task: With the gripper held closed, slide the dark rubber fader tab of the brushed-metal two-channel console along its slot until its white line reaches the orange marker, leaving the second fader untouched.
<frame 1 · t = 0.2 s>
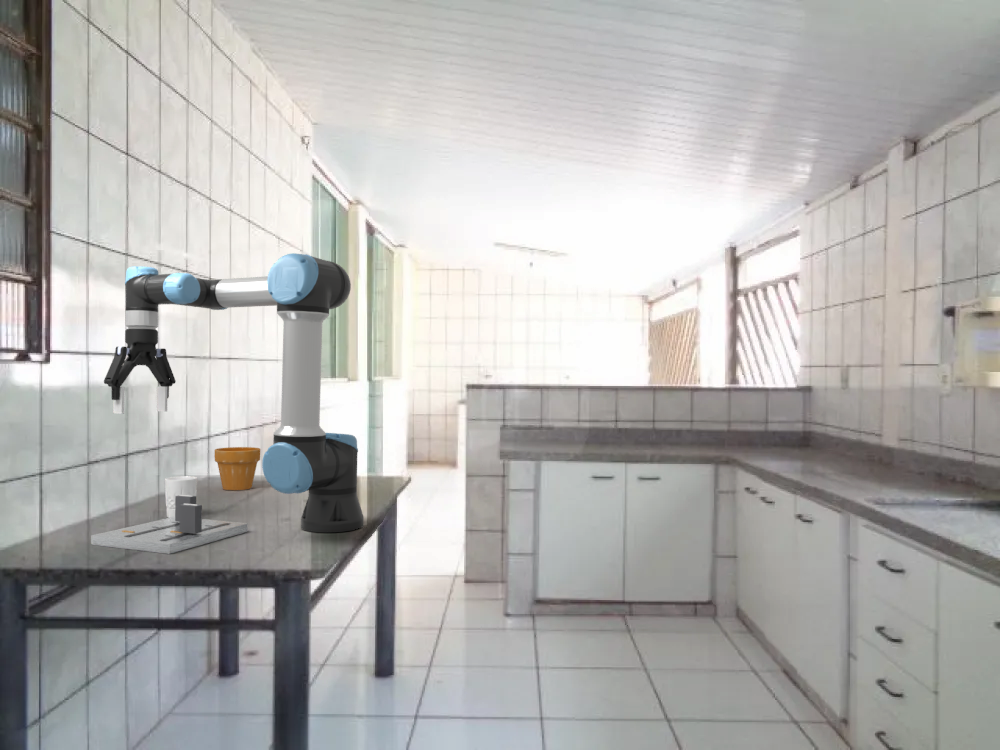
hand: (141, 412, 188), 27 cm above the table, fingers open, 13 cm apart
fader 2: (190, 518, 165), point 5 cm above the table, slide at 2.0 cm
fader tab: (185, 508, 177), point 5 cm above the table, slide at -7.0 cm
console: (172, 537, 169), on the table
flower pot: (237, 489, 243), on the table
white cup: (180, 517, 195), on the table
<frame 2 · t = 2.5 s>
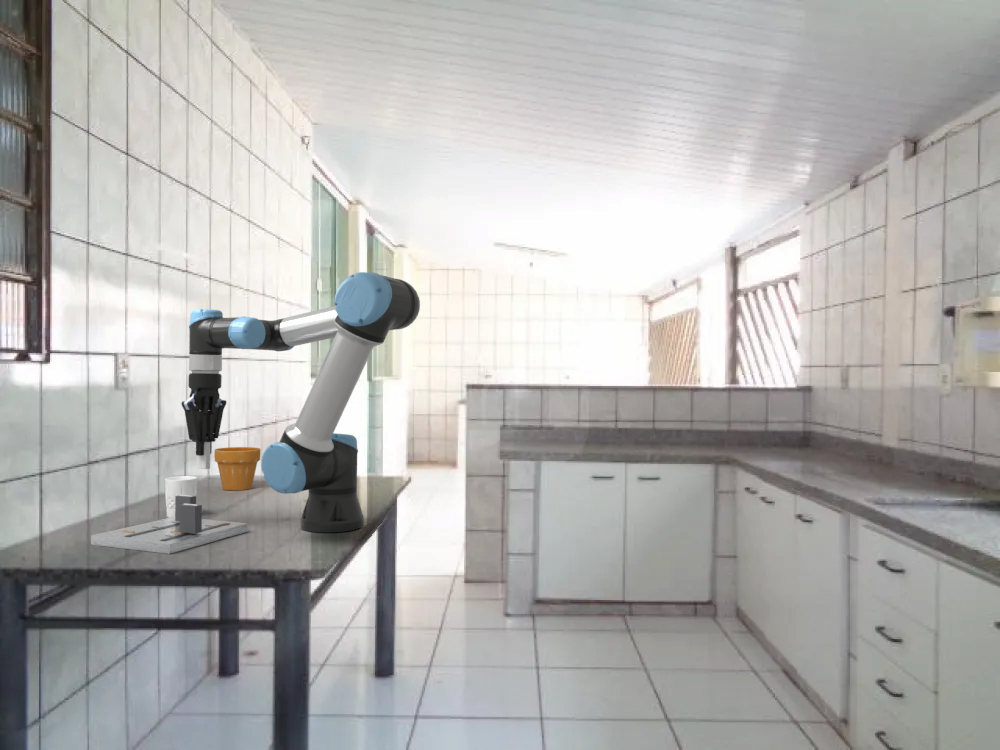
hand: (203, 468, 182), 14 cm above the table, fingers closed
nothing on the table moved.
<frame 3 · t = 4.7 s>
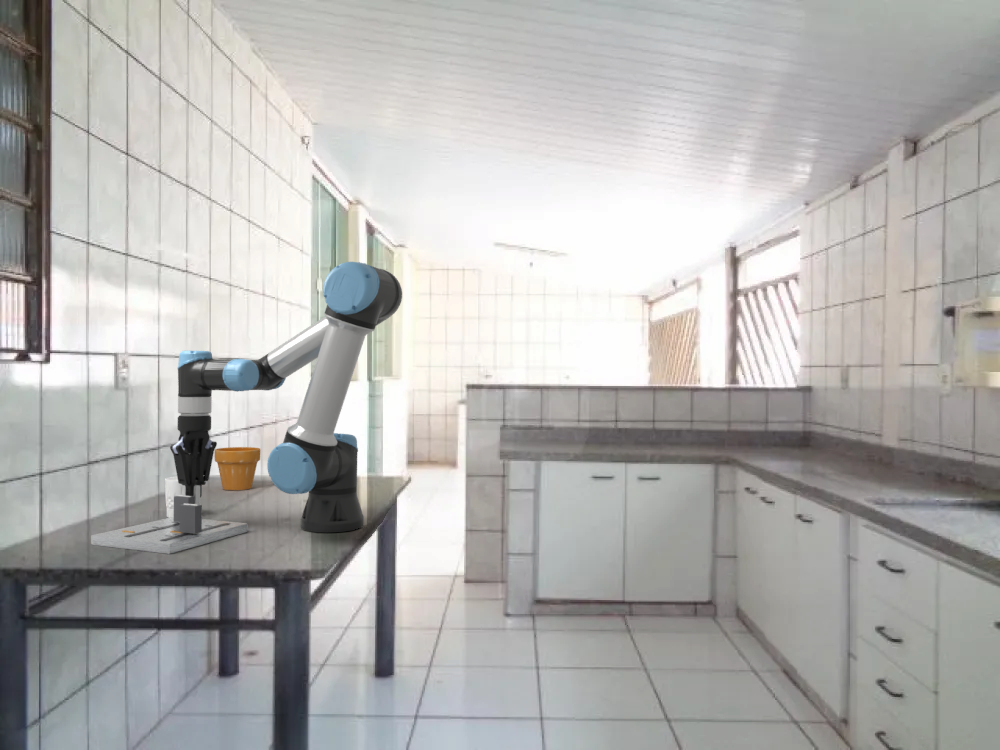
hand: (193, 512, 179), 4 cm above the table, fingers closed
fader tab: (184, 508, 176), point 5 cm above the table, slide at -6.5 cm, touching gripper
everything else where it was.
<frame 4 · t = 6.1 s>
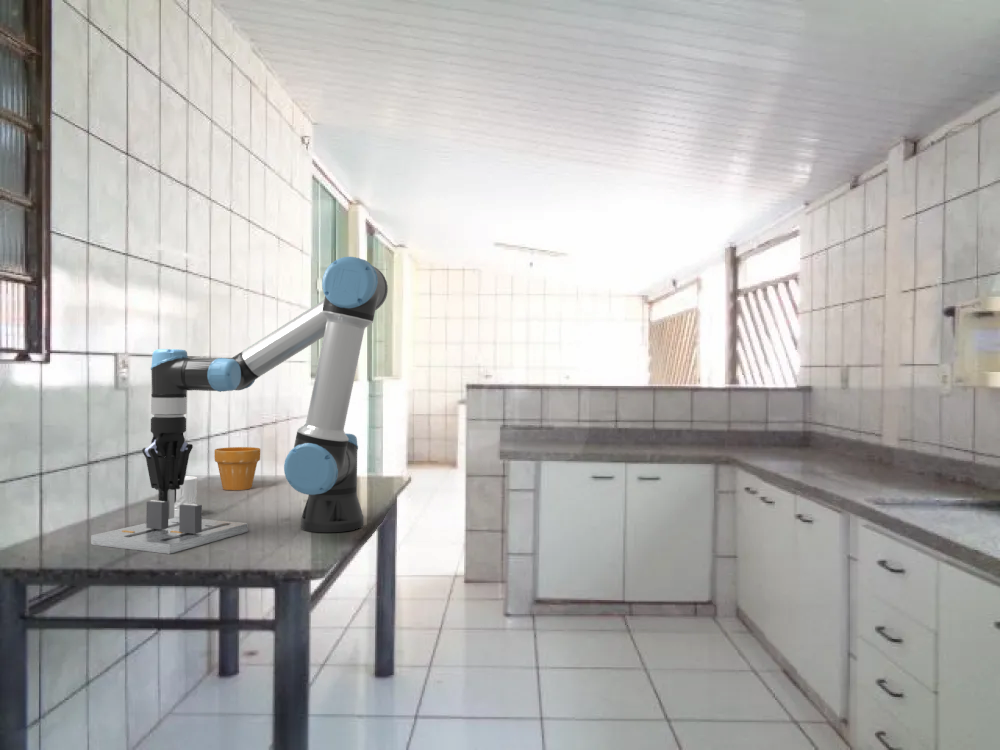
hand: (167, 517, 172), 4 cm above the table, fingers closed
fader tab: (157, 514, 169), point 5 cm above the table, slide at 1.6 cm, touching gripper
everything else where it was.
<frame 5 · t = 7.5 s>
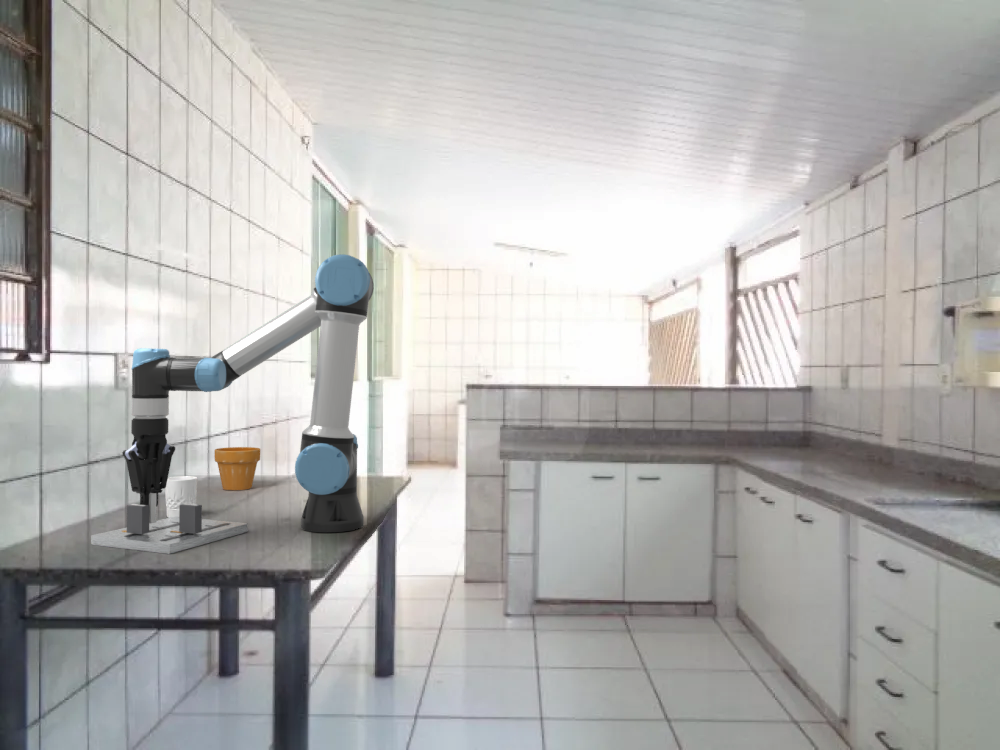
hand: (148, 522, 166), 4 cm above the table, fingers closed
fader tab: (138, 518, 164), point 5 cm above the table, slide at 7.0 cm, touching gripper
everything else where it was.
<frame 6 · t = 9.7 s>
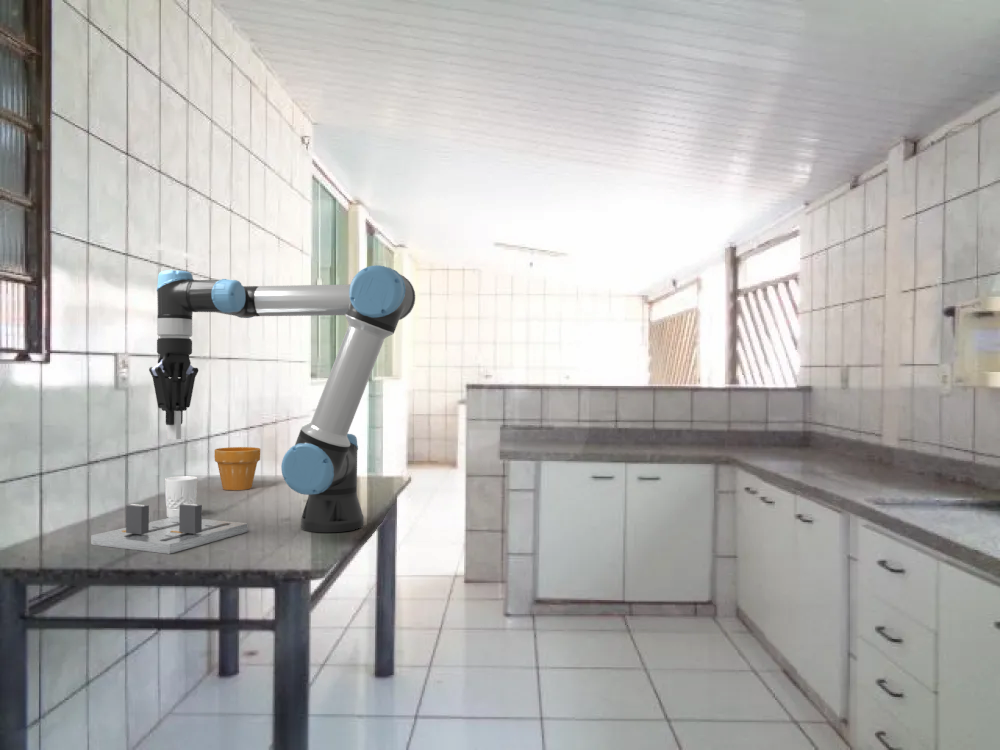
hand: (174, 438, 173), 22 cm above the table, fingers closed
fader tab: (137, 518, 163), point 5 cm above the table, slide at 7.1 cm
everything else where it was.
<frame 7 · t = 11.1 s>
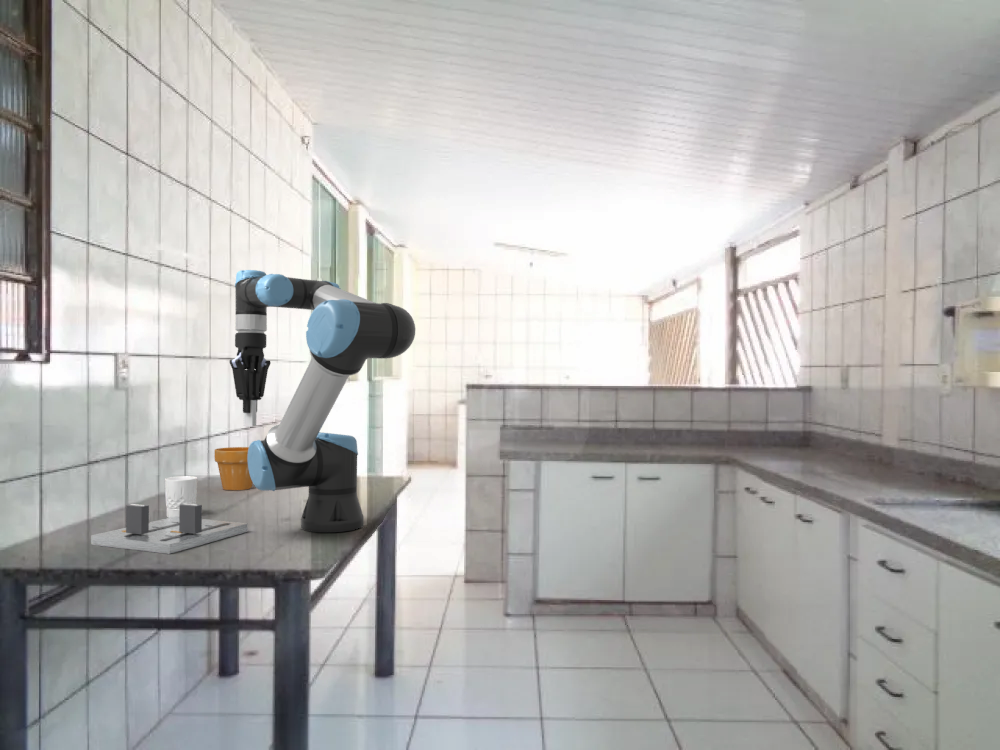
hand: (249, 425, 187), 24 cm above the table, fingers closed
nothing on the table moved.
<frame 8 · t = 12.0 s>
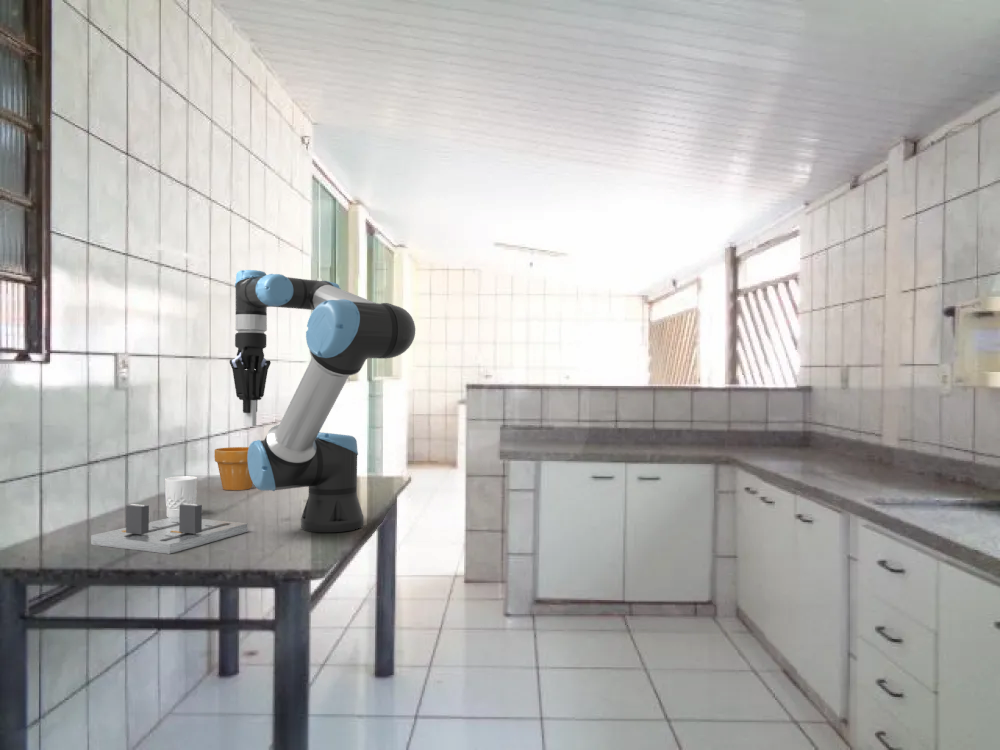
hand: (249, 425, 187), 24 cm above the table, fingers closed
nothing on the table moved.
at the end: fader tab slide at 7.1 cm; fader 2 slide at 2.0 cm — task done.
